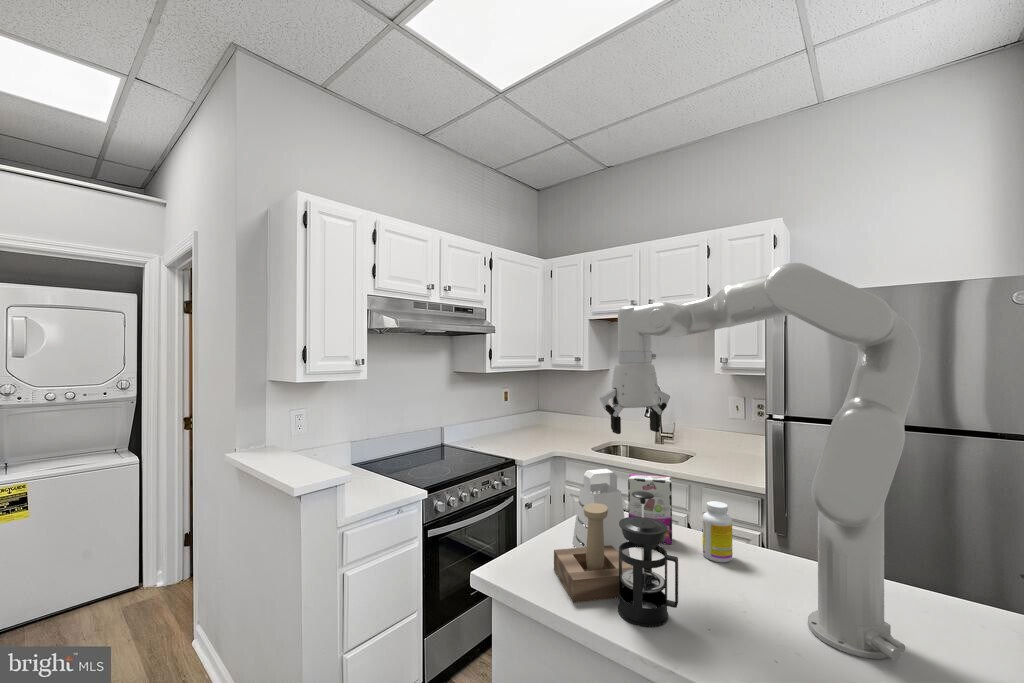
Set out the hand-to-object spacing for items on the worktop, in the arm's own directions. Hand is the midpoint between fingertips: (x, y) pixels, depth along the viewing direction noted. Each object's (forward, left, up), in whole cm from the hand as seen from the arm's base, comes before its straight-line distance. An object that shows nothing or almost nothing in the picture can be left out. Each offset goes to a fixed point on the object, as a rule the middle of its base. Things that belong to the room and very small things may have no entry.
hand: (635, 432), depth 108 cm
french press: (-18, +7, -32) cm, 37 cm away
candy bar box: (+14, -11, -32) cm, 36 cm away
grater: (+9, +5, -32) cm, 33 cm away
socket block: (-5, +12, -31) cm, 34 cm away
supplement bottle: (+1, -22, -32) cm, 38 cm away
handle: (-5, +12, -30) cm, 33 cm away
